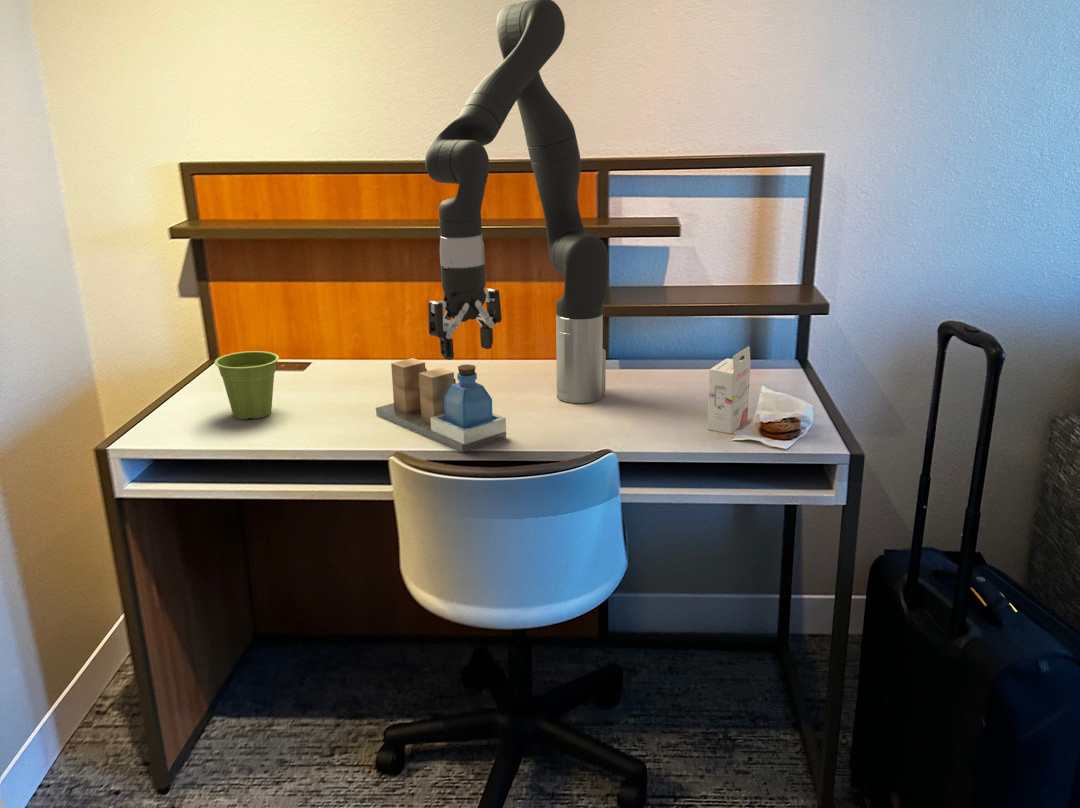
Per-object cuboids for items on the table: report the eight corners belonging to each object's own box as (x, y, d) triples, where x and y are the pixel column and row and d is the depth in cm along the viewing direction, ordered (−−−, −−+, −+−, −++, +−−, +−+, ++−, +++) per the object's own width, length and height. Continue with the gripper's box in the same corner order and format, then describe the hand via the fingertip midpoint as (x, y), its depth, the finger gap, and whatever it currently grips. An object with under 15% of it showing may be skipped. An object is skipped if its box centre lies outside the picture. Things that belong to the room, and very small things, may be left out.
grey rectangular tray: (418, 403, 191) (417, 384, 189) (507, 438, 171) (506, 417, 170) (376, 415, 184) (375, 395, 183) (463, 453, 165) (462, 431, 164)
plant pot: (268, 426, 179) (261, 369, 175) (210, 422, 181) (202, 366, 178) (294, 405, 190) (289, 351, 186) (239, 403, 192) (233, 349, 189)
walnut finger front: (445, 412, 181) (443, 367, 178) (458, 417, 178) (456, 371, 175) (421, 419, 177) (418, 373, 174) (434, 424, 174) (431, 377, 172)
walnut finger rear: (417, 401, 187) (415, 357, 184) (429, 406, 184) (427, 361, 181) (394, 407, 184) (391, 363, 181) (406, 412, 181) (403, 367, 178)
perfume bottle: (492, 431, 171) (491, 367, 167) (463, 439, 167) (461, 374, 163) (474, 422, 175) (471, 360, 171) (445, 429, 172) (442, 366, 168)
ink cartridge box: (723, 416, 181) (727, 341, 177) (747, 420, 179) (752, 345, 174) (705, 429, 175) (709, 352, 170) (731, 434, 172) (735, 356, 167)
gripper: (480, 253, 168) (485, 341, 173) (415, 265, 159) (421, 358, 164) (508, 258, 163) (512, 349, 168) (442, 270, 154) (448, 366, 159)
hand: (467, 353), depth 166 cm, fingers open, 8 cm apart
